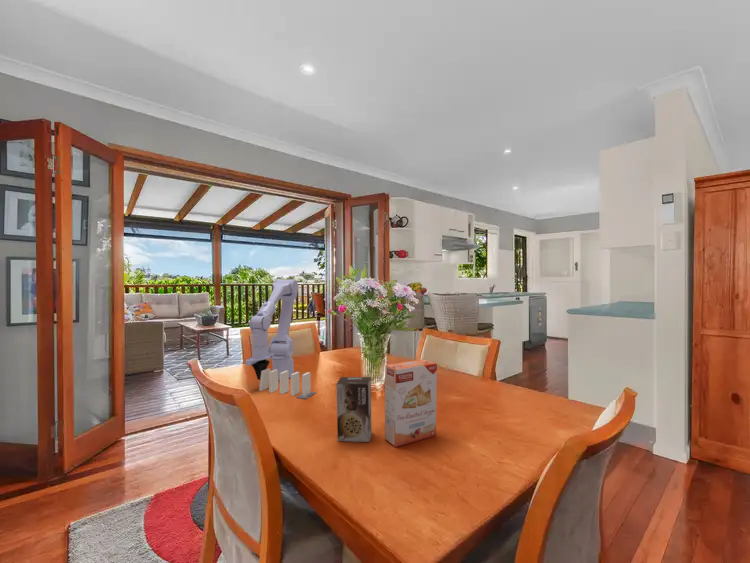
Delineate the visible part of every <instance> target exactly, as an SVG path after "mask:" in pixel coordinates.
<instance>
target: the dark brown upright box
mask: <svg viewBox="0 0 750 563" xmlns="http://www.w3.org/2000/svg"><path fill="white" fill-rule="evenodd" d="M371 378H372V377H370V376H340V377H339V379H338V381H337V383H336V384H335V385H336V388H335V389H336V418H337V419H336V422H337V423H336V425H337V426H336V428H337V430H336V432H337V436H336V438H337V440H336V441H337V442H355V443H357V442H358V443H360V442H361V443H363V442H364V443H369V442H371V437H372V434H373V432H372V431H373V430H372V429H373V428H372V427H373V426H372V388H371V387H372V382H371V381H372V380H371Z"/></svg>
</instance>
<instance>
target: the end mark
mask: <svg viewBox="0 0 750 563" xmlns="http://www.w3.org/2000/svg"><path fill="white" fill-rule="evenodd" d="M316 393H317V392H315V391H314V392H313V391H311V393H310V394H309V395H307V396H305V397H303V396H302V393H301V394H299V395H298V396H296V399H302V400H307V399H308V398H310V397H312V396H313V395H315V394H316Z"/></svg>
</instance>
